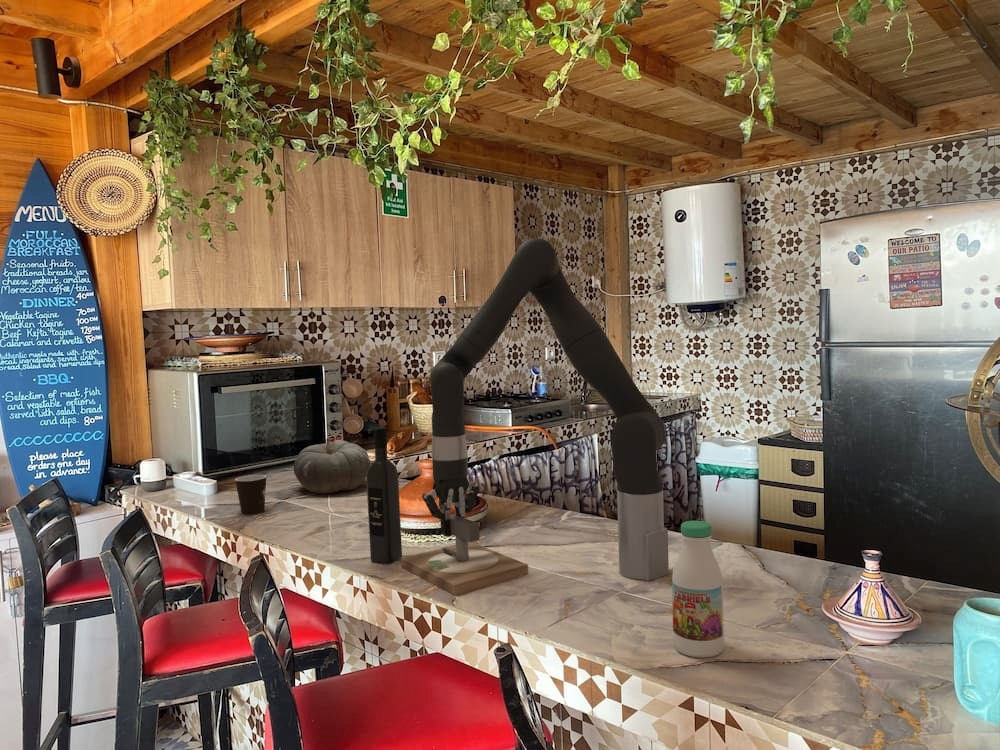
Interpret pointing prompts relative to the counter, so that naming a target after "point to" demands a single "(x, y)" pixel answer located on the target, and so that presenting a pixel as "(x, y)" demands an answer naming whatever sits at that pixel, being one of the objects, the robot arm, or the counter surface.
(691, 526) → the milk bottle
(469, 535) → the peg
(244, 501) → the coffee mug
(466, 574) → the wooden base stand
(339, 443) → the gourd
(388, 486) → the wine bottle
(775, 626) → the counter surface
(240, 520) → the counter surface
